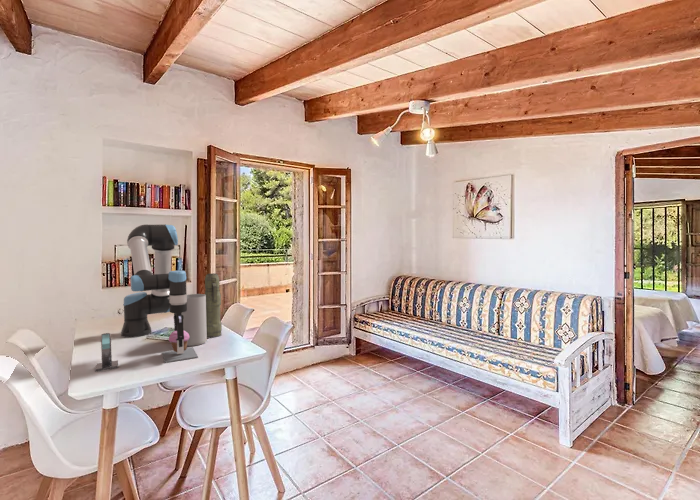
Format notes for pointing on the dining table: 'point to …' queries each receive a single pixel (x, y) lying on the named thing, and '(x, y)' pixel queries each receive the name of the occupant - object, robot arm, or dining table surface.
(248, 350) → the dining table surface
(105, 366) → the post
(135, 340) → the dining table surface
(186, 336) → the cupcake
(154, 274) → the robot arm
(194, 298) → the cylinder vase
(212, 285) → the thermos
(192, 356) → the rubber mat
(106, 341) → the bar
